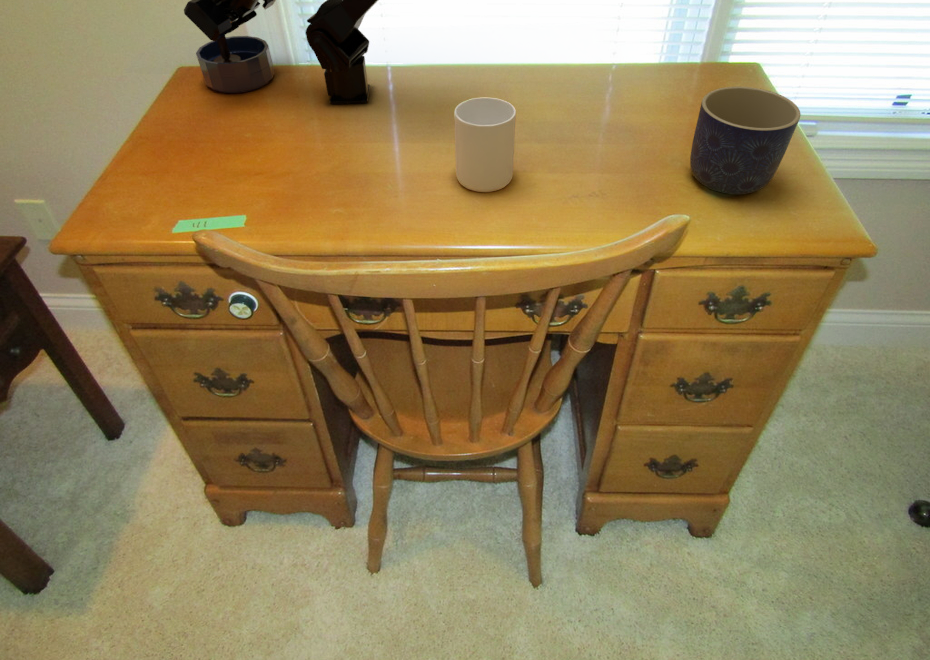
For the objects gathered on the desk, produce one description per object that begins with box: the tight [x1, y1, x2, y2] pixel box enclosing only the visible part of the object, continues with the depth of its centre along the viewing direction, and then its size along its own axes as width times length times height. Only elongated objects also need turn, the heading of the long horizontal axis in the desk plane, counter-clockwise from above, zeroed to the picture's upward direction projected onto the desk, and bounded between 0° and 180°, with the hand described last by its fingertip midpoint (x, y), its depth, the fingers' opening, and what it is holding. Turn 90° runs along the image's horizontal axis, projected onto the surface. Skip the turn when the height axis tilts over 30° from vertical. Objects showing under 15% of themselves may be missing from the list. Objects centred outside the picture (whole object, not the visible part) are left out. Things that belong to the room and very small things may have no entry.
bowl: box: [195, 35, 276, 94], centre depth 115 cm, size 12×12×6 cm
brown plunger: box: [213, 35, 241, 63], centre depth 111 cm, size 5×5×14 cm
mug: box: [453, 96, 517, 193], centre depth 90 cm, size 12×8×10 cm
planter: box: [689, 85, 802, 195], centre depth 87 cm, size 12×12×11 cm
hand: (214, 35), depth 111 cm, fingers closed on brown plunger
